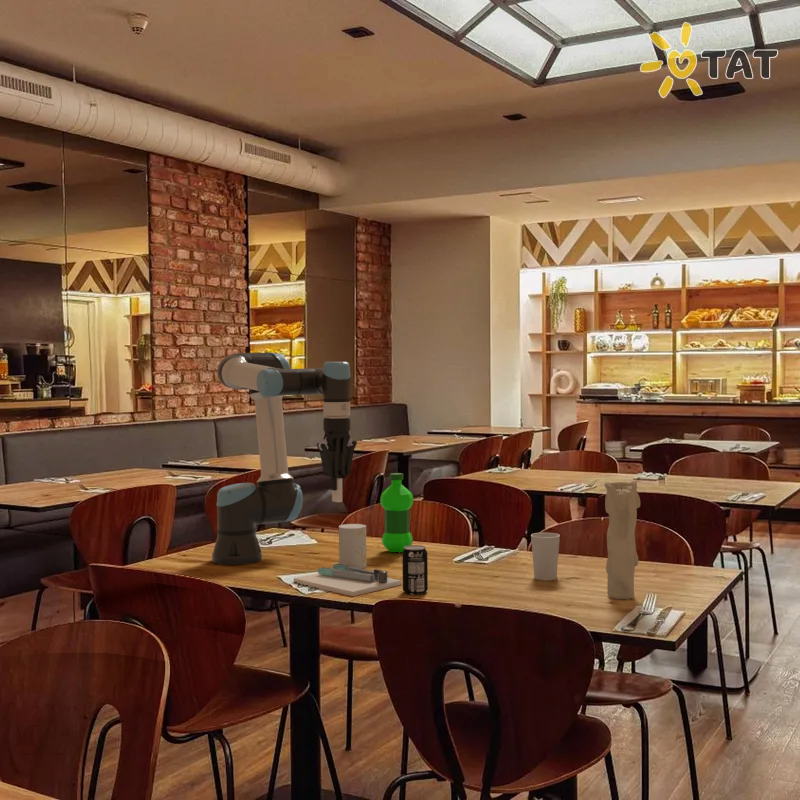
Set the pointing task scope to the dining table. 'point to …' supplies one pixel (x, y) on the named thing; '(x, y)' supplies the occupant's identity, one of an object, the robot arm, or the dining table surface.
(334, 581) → the rest board
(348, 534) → the cup
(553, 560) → the cup
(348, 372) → the robot arm
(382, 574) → the tongs fixed
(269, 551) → the dining table surface
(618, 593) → the beige lumpy column
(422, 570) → the beverage can
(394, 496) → the plastic bottle
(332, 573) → the bar
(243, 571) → the dining table surface
